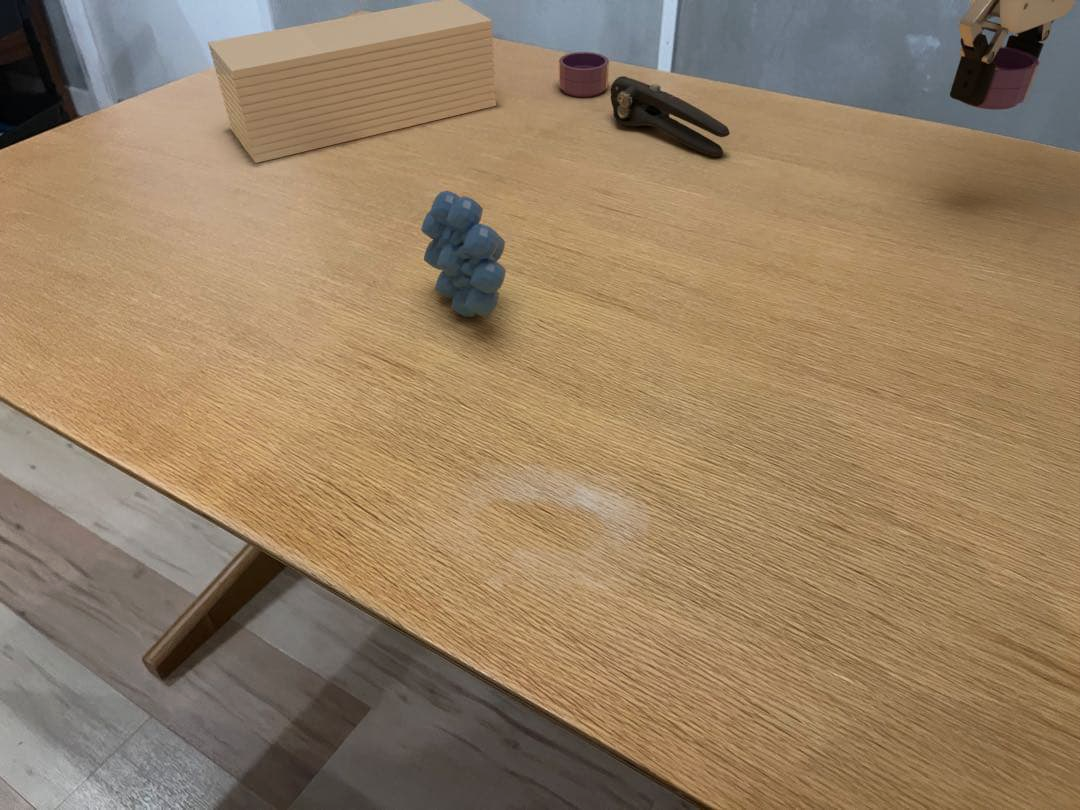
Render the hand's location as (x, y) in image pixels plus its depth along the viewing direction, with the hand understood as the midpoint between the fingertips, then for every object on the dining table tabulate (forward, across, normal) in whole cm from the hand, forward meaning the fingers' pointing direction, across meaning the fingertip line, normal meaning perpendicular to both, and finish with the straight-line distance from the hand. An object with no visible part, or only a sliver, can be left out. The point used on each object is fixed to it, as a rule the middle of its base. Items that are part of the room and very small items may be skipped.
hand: (989, 89), depth 79 cm
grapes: (+12, -51, +14) cm, 54 cm away
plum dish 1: (+12, -11, +49) cm, 52 cm away
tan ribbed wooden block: (+12, -40, +58) cm, 71 cm away
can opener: (+12, -12, +31) cm, 36 cm away
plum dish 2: (+1, 0, 0) cm, 1 cm away
